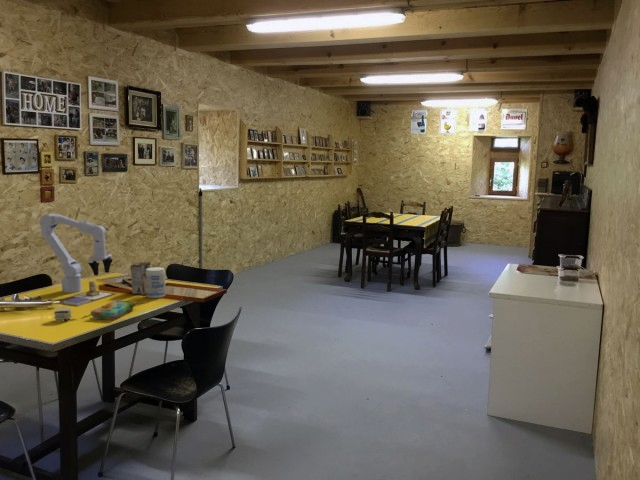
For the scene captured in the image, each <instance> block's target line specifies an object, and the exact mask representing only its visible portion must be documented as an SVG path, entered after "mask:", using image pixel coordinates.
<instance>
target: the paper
mask: <svg viewBox="0 0 640 480" xmlns="http://www.w3.org/2000/svg"><path fill="white" fill-rule="evenodd" d="M101 292H102V291H100V292H99V295H97V296H94V297H93V296H86V293H84V292H83V293H84V294H81V293H79V294H80V295H77V294H76V295H77V296H74V295H73V296H74V297H78V298H86V299H93V300H95V299H99V298H102V297H105V296H108V295H112V294H109V293H110V292H107V293H101Z"/></svg>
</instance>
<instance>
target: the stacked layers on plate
mask: <svg viewBox="0 0 640 480" xmlns="http://www.w3.org/2000/svg"><path fill="white" fill-rule="evenodd" d="M71 310H72V308H71V307H70V306H69V307H68V306H65V307H57V308H54V310H53V311H54V313H53V314H54V315H55V316H54V319H55V322H56V321H61V322H64V321H63V320H64V319H66V320H67V319H69V320H70V319H71V318H72V315H71V314H72V311H71Z"/></svg>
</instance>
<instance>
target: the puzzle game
mask: <svg viewBox="0 0 640 480" xmlns="http://www.w3.org/2000/svg"><path fill="white" fill-rule="evenodd" d="M138 305H139V303H138V301H130V300H116V299H115V300H114V301H111V302H109V303H106V304H104V305H101V306H99V307H97V308H95V309H93V310H91V311H90V315H91V317H92V318H93V319H95V318H97V319H96V320H104V319H109V320H108V321H115V320H117V319H119V318H120V317H124V316H125V315H126V314H128V313H130V312H132V311H133V309H134V308H135V307H137V306H138ZM116 318H117V319H116ZM114 319H115V320H114Z"/></svg>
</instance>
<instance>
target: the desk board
mask: <svg viewBox="0 0 640 480" xmlns="http://www.w3.org/2000/svg"><path fill="white" fill-rule="evenodd" d="M98 291H99V290H98ZM86 292H87V291H85V292H81V293H77V294H74V295H70V296H68V297H64V298H59V299H57V300H55V301H60V302H59V303H55V304H56V305H57V304H58V305H63V306H69V307H70V306H71V307H77V308H78V307H80V306H83V305H87V304H90V303H93V302H96V301H100V300H103V299H106V298H109V297H112V296H116V295H117V293H114V292H105V291H99V292H101V293H109V294H112V295H108V296H105V297H102V298H99V299H95V300H93V299H90V300H91V302H89V303H86V304H82V305H79V306H75V305H68V304H64V301H66V300H70V299H73V298H78V297H74V296H77V295H80V294H84V293H86ZM84 299H86V298H84Z"/></svg>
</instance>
